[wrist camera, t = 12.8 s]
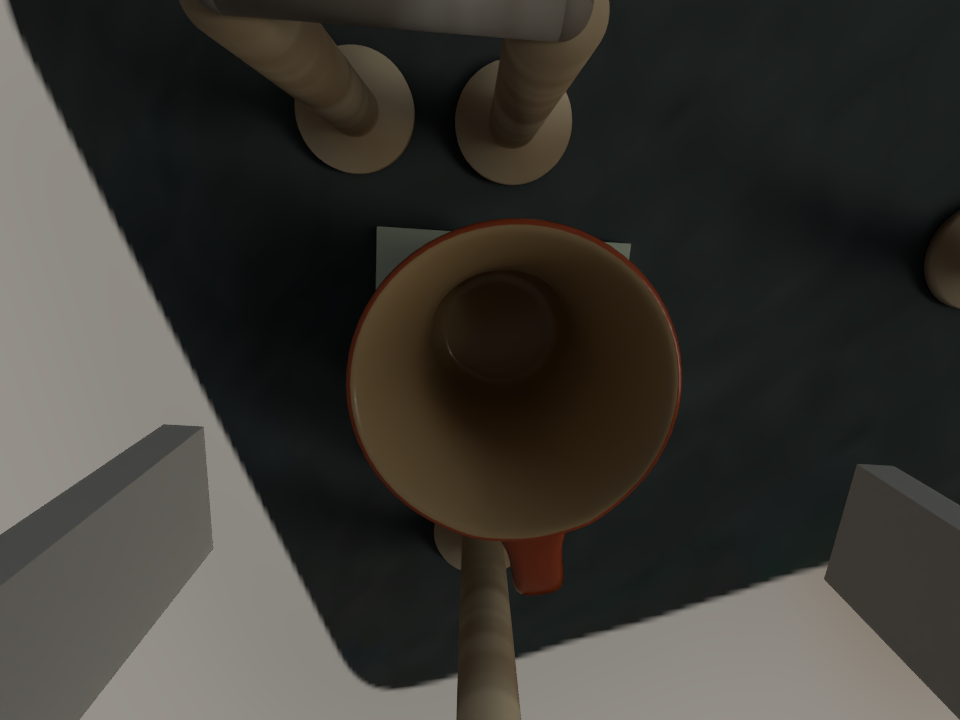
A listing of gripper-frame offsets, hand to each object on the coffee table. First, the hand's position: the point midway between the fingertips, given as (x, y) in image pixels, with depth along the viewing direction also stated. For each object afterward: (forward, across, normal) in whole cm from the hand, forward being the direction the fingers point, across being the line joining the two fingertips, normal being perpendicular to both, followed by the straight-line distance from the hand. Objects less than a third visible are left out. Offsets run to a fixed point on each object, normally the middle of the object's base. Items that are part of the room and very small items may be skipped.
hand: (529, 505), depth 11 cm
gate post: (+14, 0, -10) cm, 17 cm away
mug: (+14, 0, 0) cm, 14 cm away
